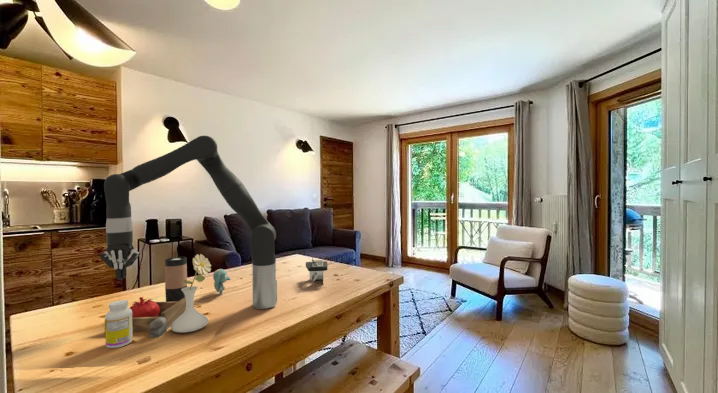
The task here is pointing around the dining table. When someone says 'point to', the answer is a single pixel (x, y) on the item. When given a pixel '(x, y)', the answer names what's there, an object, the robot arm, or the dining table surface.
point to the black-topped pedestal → (316, 269)
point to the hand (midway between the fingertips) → (121, 278)
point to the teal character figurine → (220, 280)
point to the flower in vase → (191, 317)
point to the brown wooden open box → (160, 318)
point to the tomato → (145, 308)
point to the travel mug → (175, 278)
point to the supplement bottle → (118, 324)
